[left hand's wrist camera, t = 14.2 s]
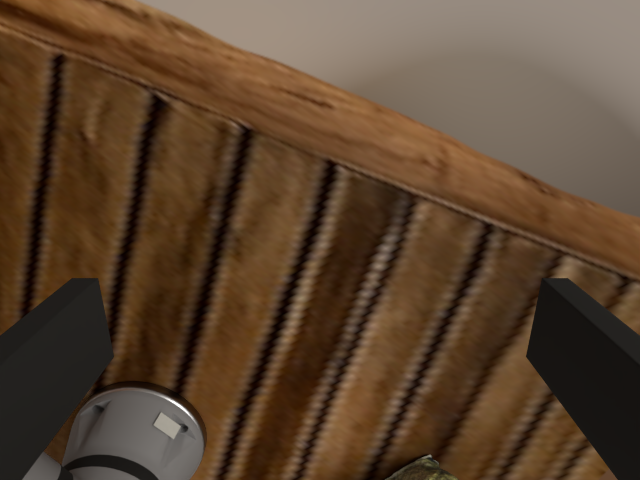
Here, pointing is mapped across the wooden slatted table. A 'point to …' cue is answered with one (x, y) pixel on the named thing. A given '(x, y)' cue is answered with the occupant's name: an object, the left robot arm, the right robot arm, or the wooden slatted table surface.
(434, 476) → the fossil
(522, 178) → the wooden slatted table surface
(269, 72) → the wooden slatted table surface
